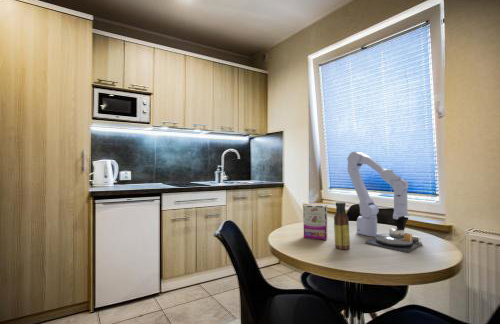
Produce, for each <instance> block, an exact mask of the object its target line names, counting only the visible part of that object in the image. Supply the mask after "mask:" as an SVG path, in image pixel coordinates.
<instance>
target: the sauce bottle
mask: <svg viewBox="0 0 500 324" xmlns="http://www.w3.org/2000/svg"><path fill="white" fill-rule="evenodd" d="M335 207H336V212H335V214H334V216H333V226H334V227H333V229H334V230H333V231H334V244H335V245H334V246H335V248H336V249H338V250H349V249H350V247H351V239H350V224H349V223H350V222H349V216H348V215H347V212H346V202H344V201H336V202H335Z"/></svg>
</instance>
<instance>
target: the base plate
mask: <svg viewBox="0 0 500 324" xmlns="http://www.w3.org/2000/svg"><path fill="white" fill-rule="evenodd" d="M412 240H413V244H412V245H411V246H391V245H386V244H382V243H379V242H377V241H376V237H372V238H370V239H368V240H367V241H365V244H367V245H370V246H376V247H379V248H384V249H388V250H389V249H390V250H393V251H398V252H403V253H407V254H408V253H409V254H410V253H411V252H412V251H414V250H416V249H417V248H418V247H420V246H422V245H423V242H422V237H421V236H419V235H413V234H412Z"/></svg>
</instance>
